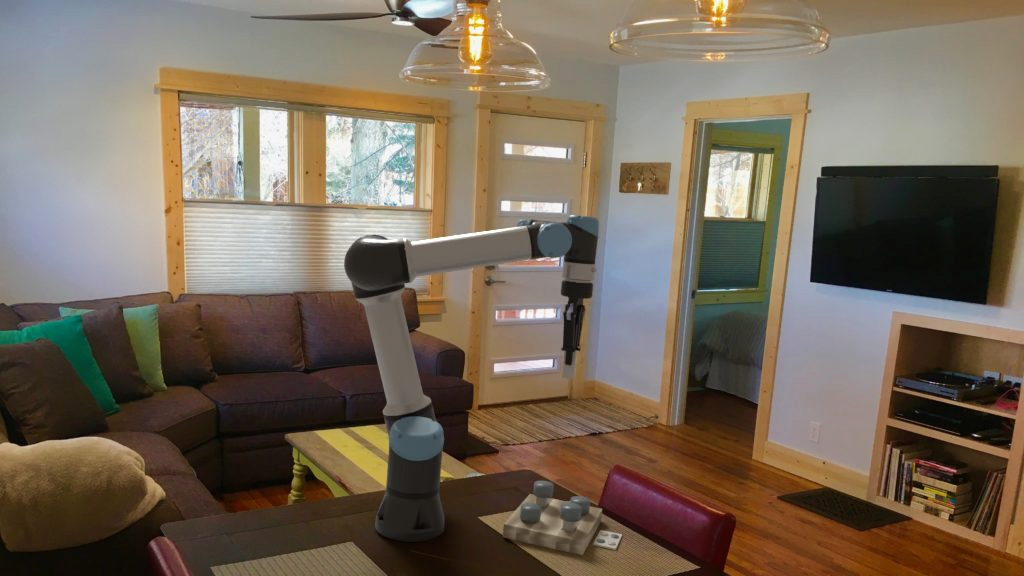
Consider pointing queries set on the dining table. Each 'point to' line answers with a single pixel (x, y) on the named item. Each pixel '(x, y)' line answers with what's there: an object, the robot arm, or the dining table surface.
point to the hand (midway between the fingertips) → (568, 377)
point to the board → (553, 528)
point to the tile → (607, 540)
